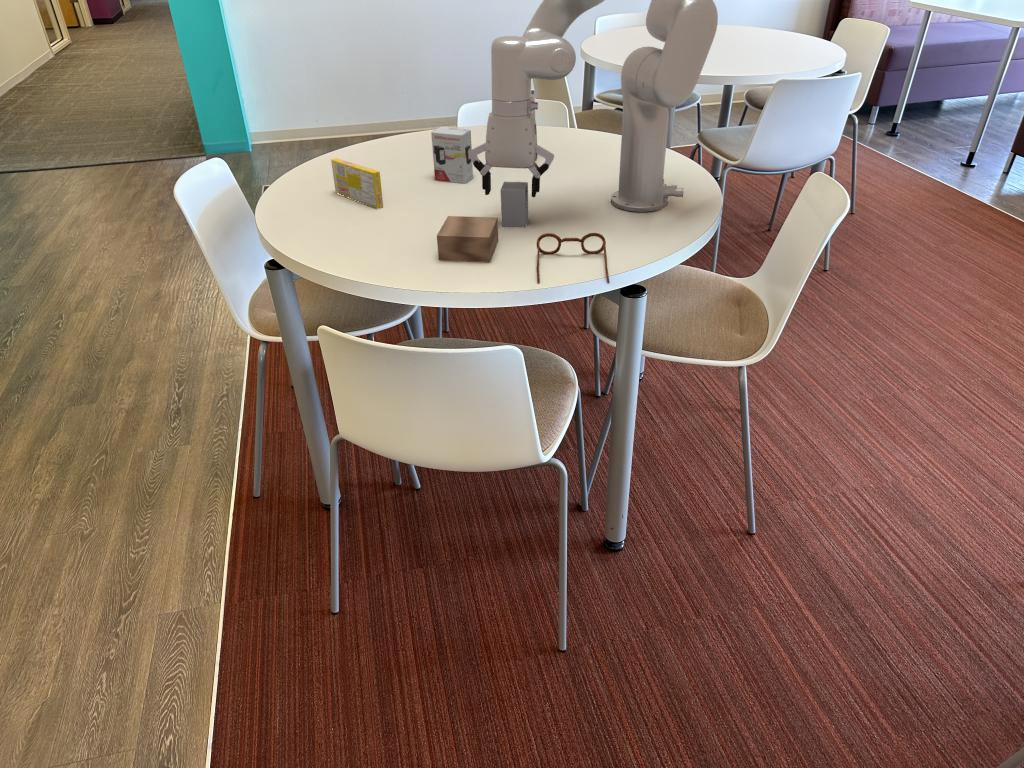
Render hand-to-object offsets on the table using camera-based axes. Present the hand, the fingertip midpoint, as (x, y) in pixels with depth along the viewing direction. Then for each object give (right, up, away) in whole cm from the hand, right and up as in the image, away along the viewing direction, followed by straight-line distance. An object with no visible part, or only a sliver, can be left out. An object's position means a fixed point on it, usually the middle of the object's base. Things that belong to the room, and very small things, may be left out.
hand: (511, 194), depth 148 cm
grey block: (+1, -5, +4) cm, 6 cm away
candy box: (-35, +3, +18) cm, 40 cm away
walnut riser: (-8, -13, -8) cm, 17 cm away
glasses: (+11, -18, -15) cm, 26 cm away
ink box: (-14, +11, +28) cm, 34 cm away
